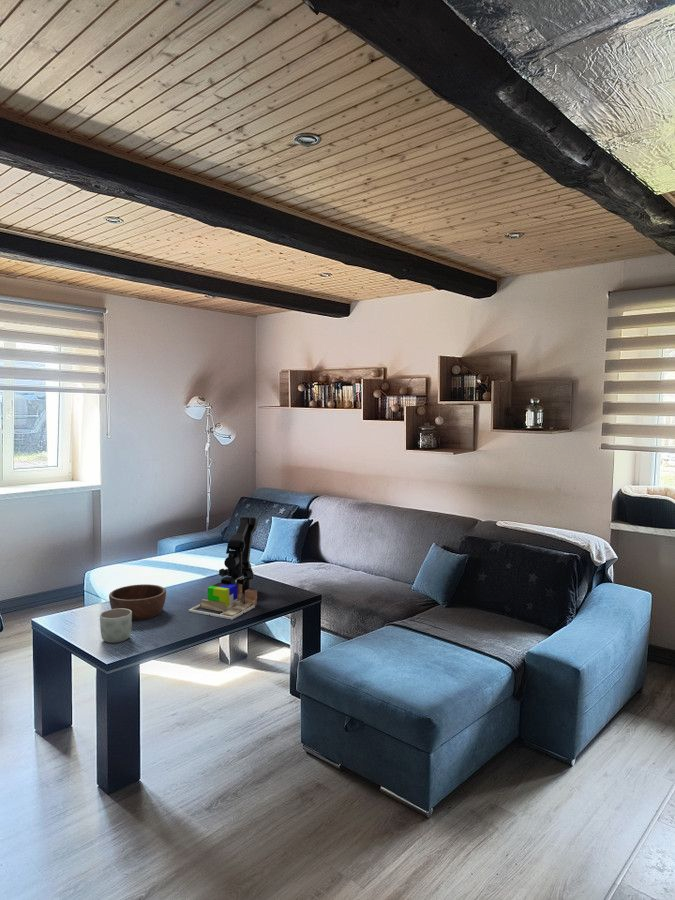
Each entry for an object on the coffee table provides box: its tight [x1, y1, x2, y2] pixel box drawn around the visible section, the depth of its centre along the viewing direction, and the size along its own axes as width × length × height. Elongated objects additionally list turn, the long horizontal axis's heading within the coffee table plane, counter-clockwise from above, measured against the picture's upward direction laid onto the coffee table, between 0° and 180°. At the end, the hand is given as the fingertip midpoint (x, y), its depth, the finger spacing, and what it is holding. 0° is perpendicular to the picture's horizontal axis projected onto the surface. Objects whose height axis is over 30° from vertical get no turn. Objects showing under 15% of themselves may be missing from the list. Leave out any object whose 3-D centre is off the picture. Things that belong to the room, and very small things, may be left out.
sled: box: [199, 584, 245, 613], centre depth 295 cm, size 21×15×7 cm
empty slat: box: [222, 589, 258, 617], centre depth 285 cm, size 21×5×7 cm, turn 156°
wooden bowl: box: [108, 583, 167, 621], centre depth 280 cm, size 25×25×10 cm
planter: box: [99, 608, 133, 644], centre depth 248 cm, size 12×12×11 cm
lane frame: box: [188, 603, 256, 620], centre depth 287 cm, size 19×24×1 cm
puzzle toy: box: [207, 581, 237, 607], centre depth 290 cm, size 10×10×10 cm
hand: (236, 594), depth 303 cm, fingers closed on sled, 3 cm apart
